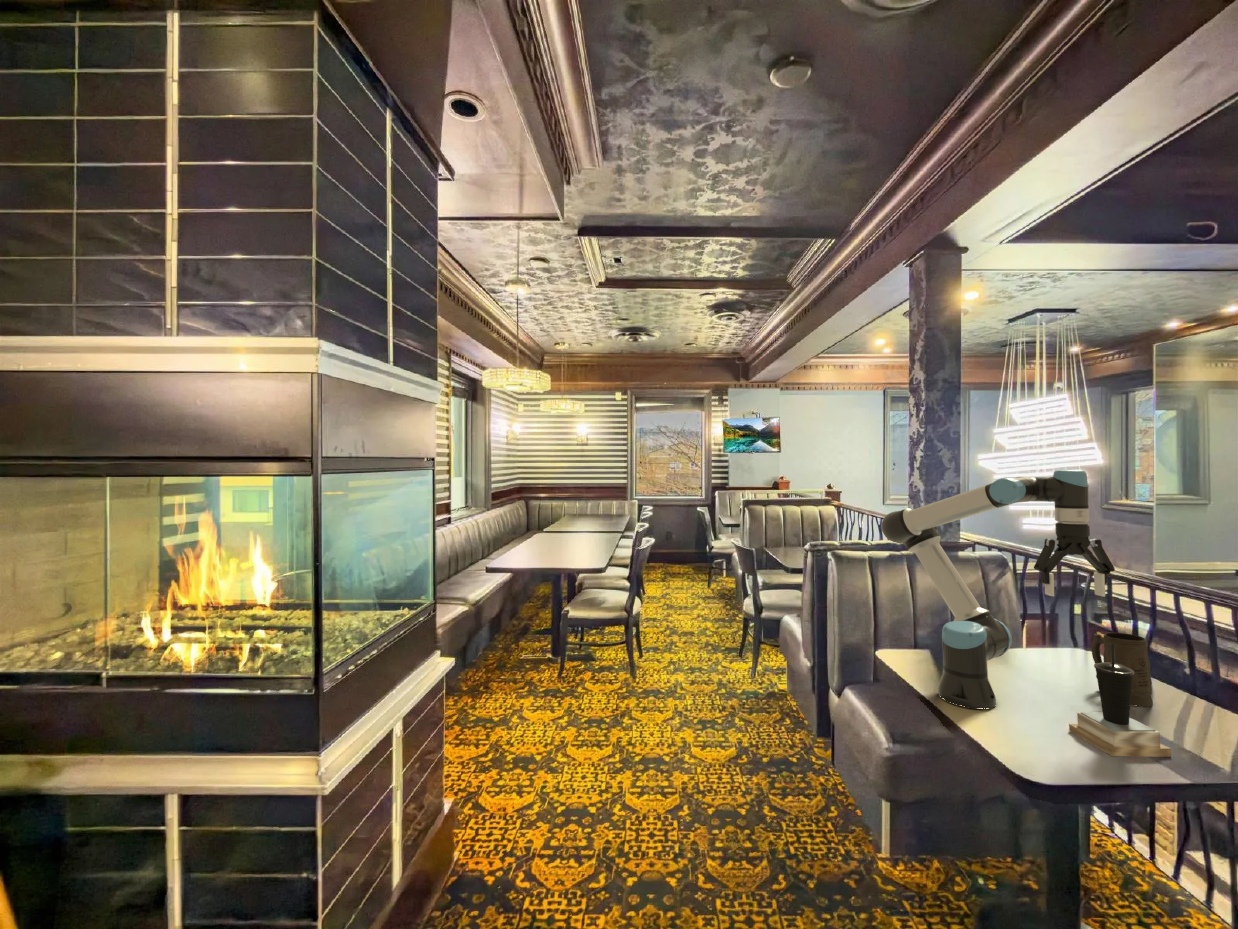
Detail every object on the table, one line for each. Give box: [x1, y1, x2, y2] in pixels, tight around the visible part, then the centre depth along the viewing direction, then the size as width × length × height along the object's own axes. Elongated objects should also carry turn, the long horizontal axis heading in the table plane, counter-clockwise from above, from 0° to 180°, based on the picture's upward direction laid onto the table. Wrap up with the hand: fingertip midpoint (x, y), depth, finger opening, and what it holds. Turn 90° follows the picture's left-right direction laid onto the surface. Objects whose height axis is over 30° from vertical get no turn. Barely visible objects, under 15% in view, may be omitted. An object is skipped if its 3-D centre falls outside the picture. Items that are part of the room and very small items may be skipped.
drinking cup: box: [1093, 643, 1134, 725], centre depth 135 cm, size 8×8×20 cm
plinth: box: [1068, 711, 1172, 758], centre depth 134 cm, size 14×13×6 cm
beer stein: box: [1090, 632, 1154, 707], centre depth 162 cm, size 15×11×20 cm
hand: (1074, 595), depth 150 cm, fingers open, 13 cm apart
